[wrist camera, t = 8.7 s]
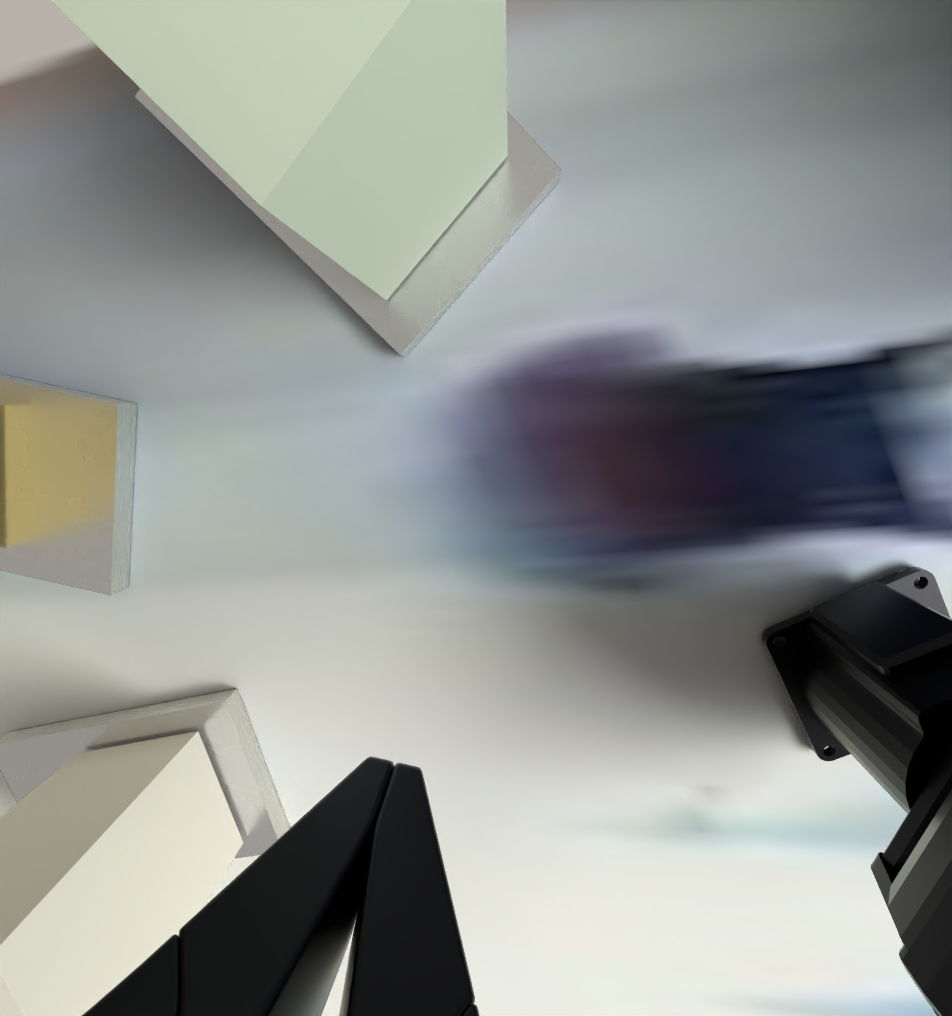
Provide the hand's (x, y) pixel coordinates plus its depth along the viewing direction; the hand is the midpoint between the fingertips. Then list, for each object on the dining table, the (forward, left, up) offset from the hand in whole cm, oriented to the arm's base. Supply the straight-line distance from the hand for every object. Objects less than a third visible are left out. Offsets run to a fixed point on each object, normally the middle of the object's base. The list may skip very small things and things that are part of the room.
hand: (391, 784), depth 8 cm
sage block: (+13, -4, -12) cm, 18 cm away
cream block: (-4, +18, -12) cm, 22 cm away
